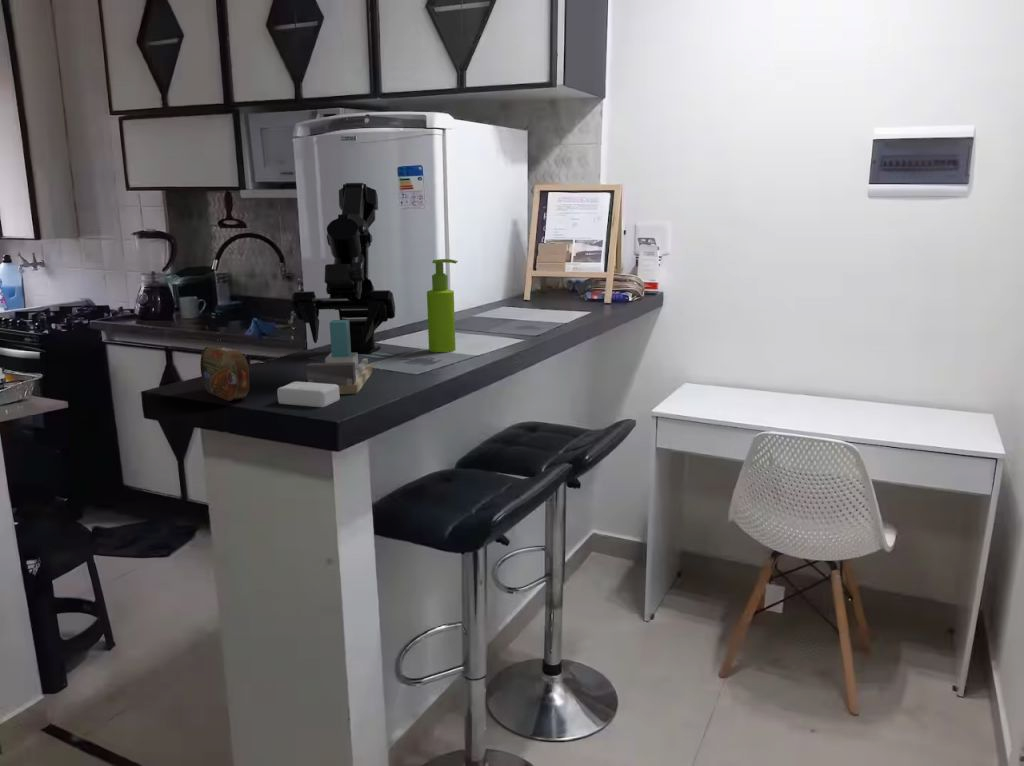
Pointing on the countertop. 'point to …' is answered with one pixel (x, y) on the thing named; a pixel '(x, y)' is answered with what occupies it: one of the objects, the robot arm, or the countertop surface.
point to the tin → (225, 373)
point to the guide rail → (340, 375)
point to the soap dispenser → (441, 311)
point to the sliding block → (341, 343)
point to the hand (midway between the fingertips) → (339, 341)
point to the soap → (308, 394)
